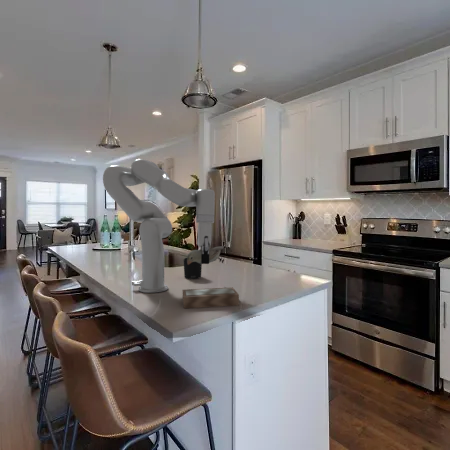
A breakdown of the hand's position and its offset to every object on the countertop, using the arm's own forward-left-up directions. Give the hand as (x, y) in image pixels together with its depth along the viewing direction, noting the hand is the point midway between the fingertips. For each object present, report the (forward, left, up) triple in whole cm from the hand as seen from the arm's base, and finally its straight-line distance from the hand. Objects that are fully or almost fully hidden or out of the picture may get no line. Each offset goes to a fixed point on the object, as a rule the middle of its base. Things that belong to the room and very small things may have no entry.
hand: (204, 261), depth 131 cm
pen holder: (-2, +33, -14) cm, 36 cm away
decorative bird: (+1, 0, -1) cm, 1 cm away
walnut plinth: (+1, -13, -13) cm, 19 cm away
